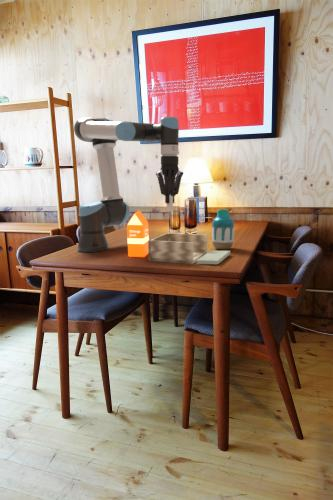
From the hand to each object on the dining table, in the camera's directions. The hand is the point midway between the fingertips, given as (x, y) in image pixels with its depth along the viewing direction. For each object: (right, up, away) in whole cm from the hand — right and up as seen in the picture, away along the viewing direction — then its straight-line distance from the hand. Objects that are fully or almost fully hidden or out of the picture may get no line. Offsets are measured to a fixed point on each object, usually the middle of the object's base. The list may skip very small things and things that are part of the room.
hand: (169, 210), depth 169 cm
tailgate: (+15, -21, -2) cm, 26 cm away
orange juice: (-14, -20, +10) cm, 26 cm away
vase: (+26, -17, +17) cm, 35 cm away
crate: (+4, -21, +2) cm, 21 cm away
